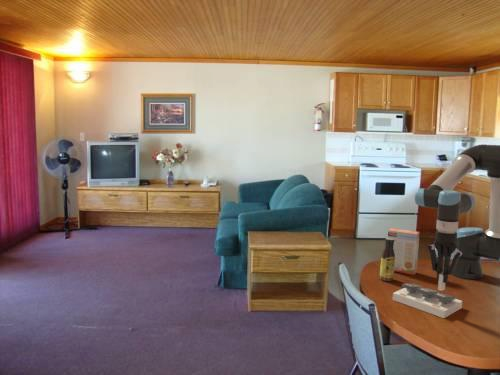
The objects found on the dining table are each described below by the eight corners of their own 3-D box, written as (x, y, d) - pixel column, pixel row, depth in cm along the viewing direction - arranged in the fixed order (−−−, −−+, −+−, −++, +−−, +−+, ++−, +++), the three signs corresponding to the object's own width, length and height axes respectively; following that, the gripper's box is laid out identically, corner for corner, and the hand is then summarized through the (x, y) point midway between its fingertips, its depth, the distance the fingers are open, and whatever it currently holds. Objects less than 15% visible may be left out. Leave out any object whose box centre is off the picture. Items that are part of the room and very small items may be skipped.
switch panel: (411, 291, 193) (412, 282, 192) (461, 308, 176) (462, 298, 175) (392, 299, 183) (393, 290, 182) (443, 318, 166) (444, 308, 166)
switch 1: (411, 286, 189) (412, 283, 189) (421, 289, 185) (422, 286, 185) (401, 286, 183) (402, 283, 183) (411, 290, 179) (411, 286, 179)
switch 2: (443, 296, 178) (444, 293, 178) (454, 300, 175) (455, 296, 175) (433, 297, 172) (434, 293, 172) (444, 301, 169) (445, 297, 169)
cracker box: (416, 272, 217) (420, 231, 214) (414, 275, 212) (417, 234, 209) (388, 266, 224) (391, 227, 221) (385, 270, 219) (387, 229, 216)
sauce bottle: (386, 282, 202) (389, 241, 199) (376, 278, 208) (379, 237, 205) (396, 280, 205) (399, 239, 202) (386, 276, 211) (389, 236, 208)
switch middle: (427, 291, 183) (428, 288, 183) (437, 294, 180) (438, 291, 180) (416, 292, 177) (417, 288, 177) (427, 295, 174) (427, 291, 174)
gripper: (425, 229, 170) (420, 286, 173) (459, 236, 160) (453, 297, 163) (434, 226, 174) (430, 282, 178) (468, 233, 165) (462, 292, 168)
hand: (441, 289), depth 171 cm, fingers closed
